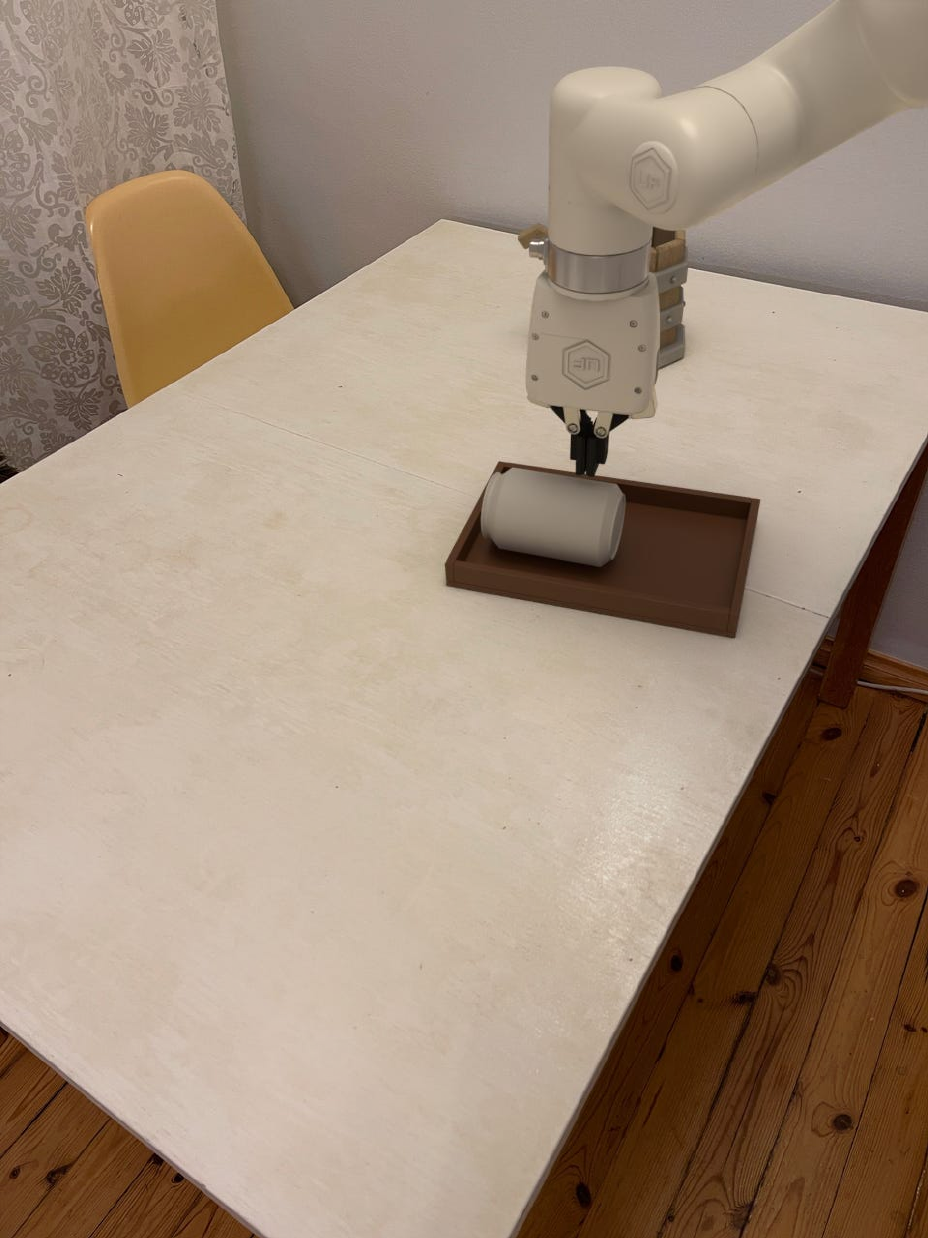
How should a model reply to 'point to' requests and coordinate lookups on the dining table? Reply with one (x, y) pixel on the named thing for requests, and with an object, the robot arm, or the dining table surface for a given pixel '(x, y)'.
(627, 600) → the tray
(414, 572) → the dining table surface
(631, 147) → the robot arm
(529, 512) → the can
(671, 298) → the tankard
